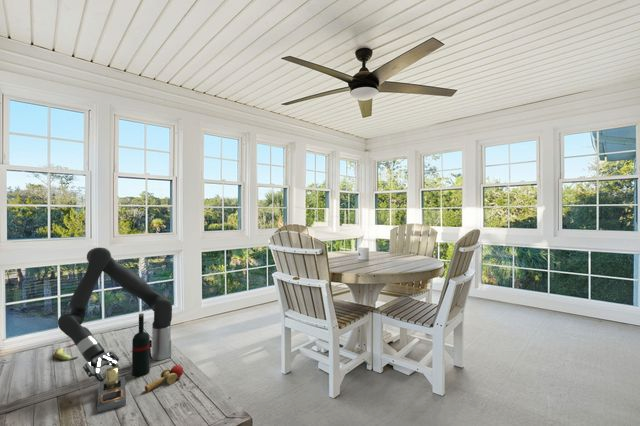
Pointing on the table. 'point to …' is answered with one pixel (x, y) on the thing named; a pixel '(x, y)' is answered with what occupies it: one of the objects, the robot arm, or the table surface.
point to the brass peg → (111, 378)
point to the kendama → (166, 377)
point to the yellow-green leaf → (63, 354)
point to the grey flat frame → (111, 396)
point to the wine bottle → (141, 351)
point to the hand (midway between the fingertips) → (110, 375)
